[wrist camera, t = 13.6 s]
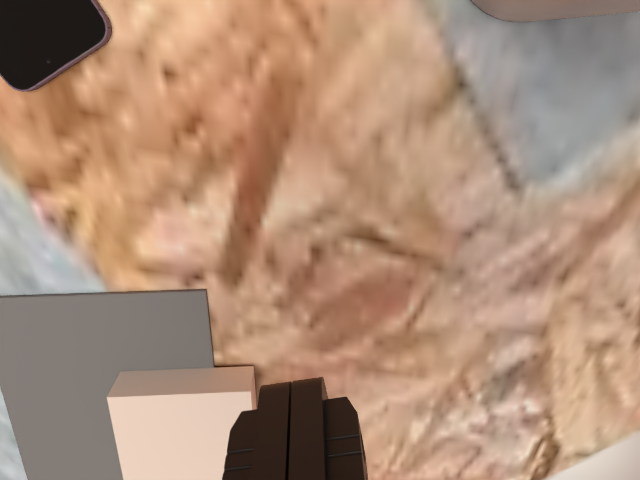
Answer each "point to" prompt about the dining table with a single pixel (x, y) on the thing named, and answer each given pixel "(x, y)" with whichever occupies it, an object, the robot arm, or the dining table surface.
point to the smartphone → (47, 38)
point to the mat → (88, 369)
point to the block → (178, 420)
